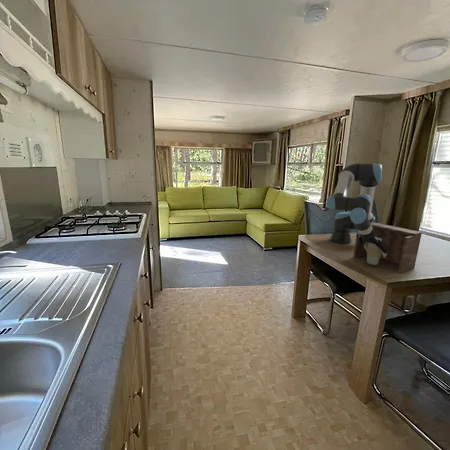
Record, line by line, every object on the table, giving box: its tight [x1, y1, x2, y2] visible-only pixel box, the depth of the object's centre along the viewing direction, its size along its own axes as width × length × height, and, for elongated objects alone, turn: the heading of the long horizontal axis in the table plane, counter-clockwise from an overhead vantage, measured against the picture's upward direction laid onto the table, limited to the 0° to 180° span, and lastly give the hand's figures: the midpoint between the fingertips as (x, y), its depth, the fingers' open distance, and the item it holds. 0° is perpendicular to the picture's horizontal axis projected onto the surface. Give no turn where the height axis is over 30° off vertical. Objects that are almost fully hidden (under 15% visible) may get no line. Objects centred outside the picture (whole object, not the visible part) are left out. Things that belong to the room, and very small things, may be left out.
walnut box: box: [352, 221, 423, 274], centre depth 155 cm, size 28×16×22 cm, turn 30°
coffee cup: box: [366, 237, 385, 266], centre depth 149 cm, size 9×9×15 cm
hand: (376, 252), depth 151 cm, fingers closed on coffee cup, 9 cm apart
